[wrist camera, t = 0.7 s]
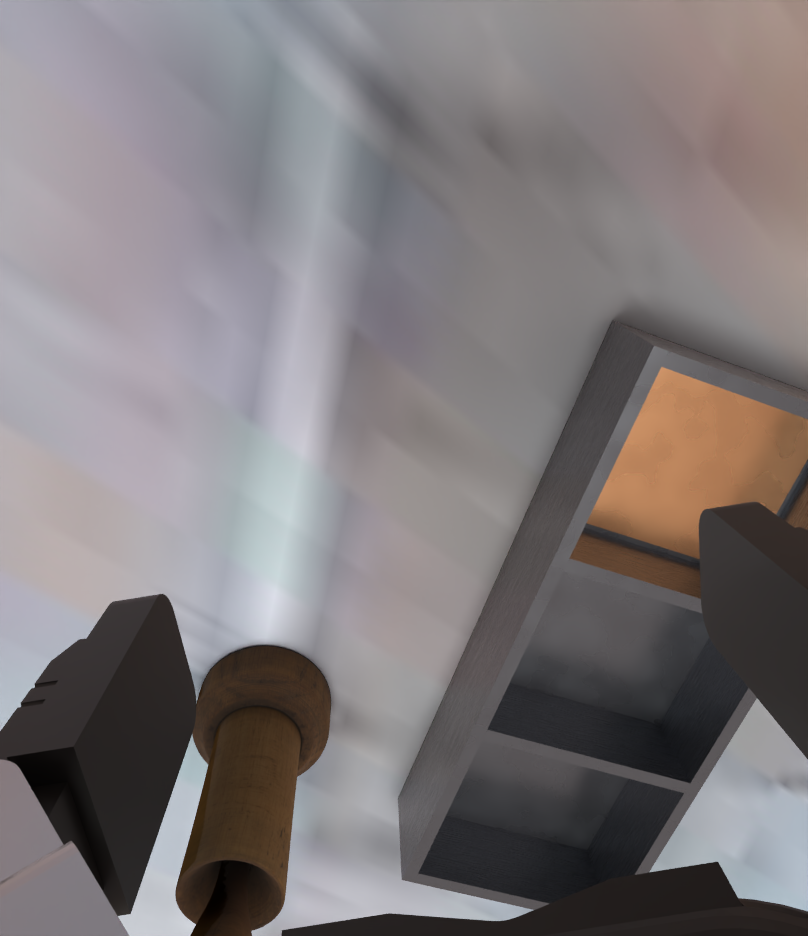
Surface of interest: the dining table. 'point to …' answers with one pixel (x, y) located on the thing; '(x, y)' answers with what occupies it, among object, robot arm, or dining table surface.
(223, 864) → the brown turned rounded post
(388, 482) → the dining table surface
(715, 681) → the rack
